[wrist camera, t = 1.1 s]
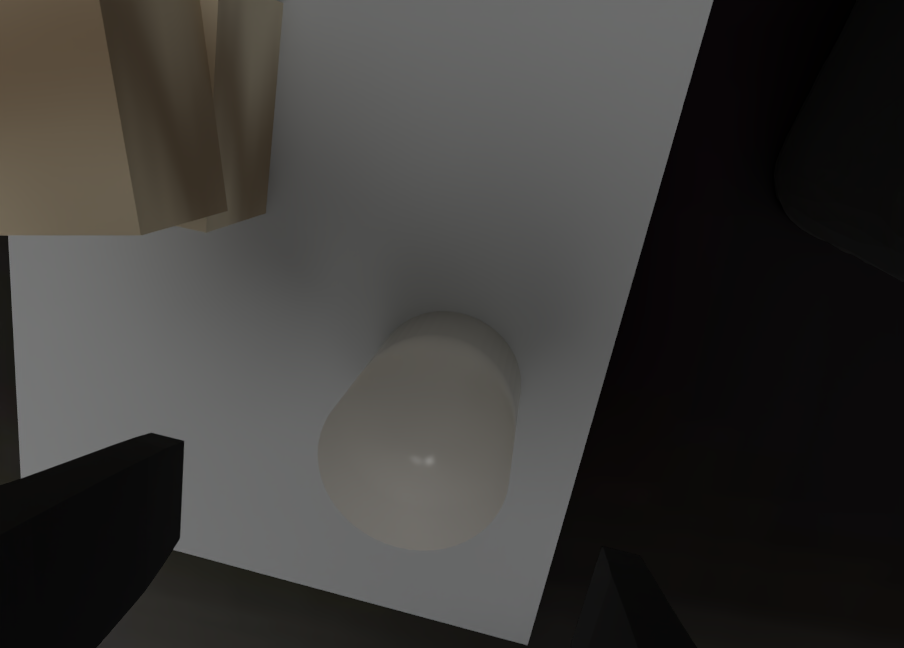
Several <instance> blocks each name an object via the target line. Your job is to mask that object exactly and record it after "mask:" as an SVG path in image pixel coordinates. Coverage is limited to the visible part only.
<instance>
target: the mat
mask: <svg viewBox="0 0 904 648" xmlns="http://www.w3.org/2000/svg"><path fill="white" fill-rule="evenodd" d="M277 1H279V2H282V3H283V14H282V26H281V38H280V50H279V62H278V74H277V86H276V98H275V110H274V122H273V134H272V146H271V157H270V169H269V181H268V193H267V205H266V213H265V214H262V215H259V216H256V217H253V218H250V219H247V220H244V221H241V222H237V223H234V224H231V225H228V226H225V227H222V228H219V229H216V230H213V231H210V232H207V233H205V232H200V231H196V230H191V229H187V228H182V227H178V226H173V227H169V228H166V229H162V230H158V231H155V232H151V233H148V234H144V235H8V240H9V259H10V278H11V297H12V316H13V335H14V354H15V373H16V392H17V410H18V429H19V448H20V467H21V478H24V477H27V476H29V475H32V474H35V473H38V472H40V471H43V470H46V469H49V468H51V467H54V466H57V465H60V464H62V463H65V462H68V461H71V460H73V459H76V458H79V457H82V456H84V455H87V454H90V453H92V452H95V451H98V450H101V449H103V448H106V447H109V446H112V445H114V444H117V443H120V442H123V441H126V440H129V439H132V438H135V437H138V436H141V435H145V434H148V433H155V434H159V435H163V436H167V437H171V438H175V439H179V440H183V441H184V461H183V484H182V507H181V530H180V539H179V541H178V543H177V544H176V546H175V547H174V549H173V550H176V551H180V552H183V553H187V554H191V555H195V556H198V557H202V558H206V559H209V560H213V561H217V562H220V563H224V564H228V565H232V566H235V567H239V568H243V569H246V570H250V571H254V572H258V573H261V574H265V575H269V576H272V577H276V578H280V579H284V580H287V581H291V582H295V583H298V584H302V585H306V586H309V587H313V588H317V589H321V590H324V591H328V592H332V593H335V594H339V595H343V596H347V597H350V598H354V599H358V600H361V601H365V602H369V603H373V604H376V605H380V606H384V607H387V608H391V609H395V610H398V611H402V612H406V613H410V614H413V615H417V616H421V617H424V618H428V619H432V620H436V621H439V622H443V623H447V624H450V625H454V626H458V627H461V628H465V629H469V630H473V631H476V632H480V633H484V634H487V635H491V636H495V637H499V638H502V639H506V640H510V641H513V642H517V643H521V644H525V645H528V642H529V638H530V635H531V631H532V628H533V624H534V621H535V617H536V614H537V610H538V607H539V603H540V600H541V597H542V593H543V590H544V586H545V583H546V579H547V576H548V572H549V569H550V565H551V562H552V558H553V555H554V551H555V548H556V544H557V541H558V538H559V534H560V531H561V527H562V524H563V520H564V517H565V513H566V510H567V506H568V503H569V499H570V496H571V492H572V489H573V485H574V482H575V479H576V475H577V472H578V468H579V465H580V461H581V458H582V454H583V451H584V447H585V444H586V440H587V437H588V433H589V430H590V426H591V423H592V420H593V416H594V413H595V409H596V406H597V402H598V399H599V395H600V392H601V388H602V385H603V381H604V378H605V374H606V371H607V367H608V364H609V361H610V357H611V354H612V350H613V347H614V343H615V340H616V336H617V333H618V329H619V326H620V322H621V319H622V315H623V312H624V308H625V305H626V302H627V298H628V295H629V291H630V288H631V284H632V281H633V277H634V274H635V270H636V267H637V263H638V260H639V256H640V253H641V249H642V246H643V243H644V239H645V236H646V232H647V229H648V225H649V222H650V218H651V215H652V211H653V208H654V204H655V201H656V197H657V194H658V190H659V187H660V184H661V180H662V177H663V173H664V170H665V166H666V163H667V159H668V156H669V152H670V149H671V145H672V142H673V138H674V135H675V131H676V128H677V125H678V121H679V118H680V114H681V111H682V107H683V104H684V100H685V97H686V93H687V90H688V86H689V83H690V79H691V76H692V72H693V69H694V66H695V62H696V59H697V55H698V52H699V48H700V45H701V41H702V38H703V34H704V31H705V27H706V24H707V20H708V17H709V13H710V10H711V7H712V3H713V0H277ZM438 311H451V312H457V313H462V314H466V315H469V316H472V317H474V318H476V319H479V320H481V321H482V322H484V323H486V324H487V325H489V326H490V327H492V328H493V329H494V330H495V331H497V332H498V333H499V334H500V335H501V336H502V337H503V339H504V340H505V341H506V342H507V344H508V345H509V346H510V348H511V350H512V352H513V353H514V355H515V358H516V360H517V362H518V366H519V370H520V376H521V394H520V401H519V409H518V417H517V425H516V432H515V440H514V448H513V455H512V463H511V471H510V478H509V485H508V491H507V494H506V497H505V500H504V503H503V505H502V507H501V509H500V511H499V512H498V514H497V515H496V517H495V518H494V519H493V521H492V522H491V523H490V524H489V525H488V526H487V527H486V528H485V529H484V530H483V531H481V532H480V533H479V534H477V535H476V536H475V537H473V538H471V539H469V540H468V541H466V542H463V543H461V544H458V545H456V546H453V547H449V548H445V549H439V550H427V551H419V550H408V549H403V548H398V547H395V546H391V545H388V544H385V543H383V542H381V541H378V540H376V539H374V538H372V537H370V536H369V535H367V534H365V533H363V532H362V531H361V530H359V529H358V528H357V527H355V526H354V525H353V524H352V523H351V522H349V521H348V520H347V519H346V518H345V517H344V516H343V515H342V513H341V512H340V511H339V510H338V509H337V508H336V506H335V505H334V503H333V502H332V500H331V499H330V497H329V495H328V493H327V491H326V489H325V487H324V484H323V482H322V479H321V475H320V471H319V466H318V443H319V438H320V434H321V431H322V428H323V425H324V423H325V421H326V419H327V417H328V416H329V414H330V412H331V411H332V410H333V409H334V407H335V406H336V405H337V403H338V402H339V401H340V399H341V398H342V397H343V396H344V394H345V393H346V392H347V390H348V389H349V388H350V386H351V385H352V384H353V383H354V381H355V380H356V379H357V377H358V376H359V375H360V373H361V372H362V371H363V370H364V368H365V367H366V366H367V364H368V363H369V362H370V360H371V359H372V358H373V356H374V355H375V354H376V353H377V351H378V350H379V349H380V347H381V346H382V345H383V343H384V342H385V341H386V340H387V338H388V337H389V336H390V334H391V333H392V332H393V331H394V330H395V329H396V328H397V327H399V326H400V325H401V324H403V323H404V322H406V321H408V320H409V319H411V318H413V317H416V316H419V315H421V314H425V313H430V312H438Z"/></svg>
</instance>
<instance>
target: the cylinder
mask: <svg viewBox="0 0 904 648" xmlns="http://www.w3.org/2000/svg"><path fill="white" fill-rule="evenodd" d="M520 394H521V376H520V370H519V366H518V362H517V360H516V358H515V355H514V353H513V352H512V350H511V348H510V346H509V345H508V344H507V342H506V341H505V340H504V339H503V337H502V336H501V335H500V334H499V333H498V332H497V331H495V330H494V329H493V328H492V327H490V326H489V325H487V324H486V323H484V322H482V321H481V320H479V319H476V318H474V317H472V316H469V315H466V314H462V313H457V312H451V311H438V312H430V313H425V314H421V315H419V316H416V317H413V318H411V319H409V320H408V321H406V322H404V323H403V324H401V325H400V326H399V327H397V328H396V329H395V330H394V331H393V332H392V333H391V334H390V336H389V337H388V338H387V340H386V341H385V342H384V343H383V345H382V346H381V347H380V349H379V350H378V351H377V353H376V354H375V355H374V356H373V358H372V359H371V360H370V362H369V363H368V364H367V366H366V367H365V368H364V370H363V371H362V372H361V373H360V375H359V376H358V377H357V379H356V380H355V381H354V383H353V384H352V385H351V386H350V388H349V389H348V390H347V392H346V393H345V394H344V396H343V397H342V398H341V399H340V401H339V402H338V403H337V405H336V406H335V407H334V409H333V410H332V411H331V412H330V414H329V416H328V417H327V419H326V421H325V423H324V425H323V428H322V431H321V434H320V438H319V443H318V466H319V471H320V475H321V479H322V482H323V484H324V487H325V489H326V491H327V493H328V495H329V497H330V499H331V500H332V502H333V503H334V505H335V506H336V508H337V509H338V510H339V511H340V512H341V513H342V515H343V516H344V517H345V518H346V519H347V520H348V521H349V522H351V523H352V524H353V525H354V526H355V527H357V528H358V529H359V530H361V531H362V532H363V533H365V534H367V535H369V536H370V537H372V538H374V539H376V540H378V541H381V542H383V543H385V544H388V545H391V546H395V547H398V548H403V549H408V550H419V551H427V550H439V549H445V548H449V547H453V546H456V545H458V544H461V543H463V542H466V541H468V540H469V539H471V538H473V537H475V536H476V535H477V534H479V533H480V532H481V531H483V530H484V529H485V528H486V527H487V526H488V525H489V524H490V523H491V522H492V521H493V519H494V518H495V517H496V515H497V514H498V512H499V511H500V509H501V507H502V505H503V503H504V500H505V497H506V494H507V491H508V485H509V478H510V471H511V463H512V455H513V448H514V440H515V432H516V425H517V417H518V409H519V401H520Z"/></svg>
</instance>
